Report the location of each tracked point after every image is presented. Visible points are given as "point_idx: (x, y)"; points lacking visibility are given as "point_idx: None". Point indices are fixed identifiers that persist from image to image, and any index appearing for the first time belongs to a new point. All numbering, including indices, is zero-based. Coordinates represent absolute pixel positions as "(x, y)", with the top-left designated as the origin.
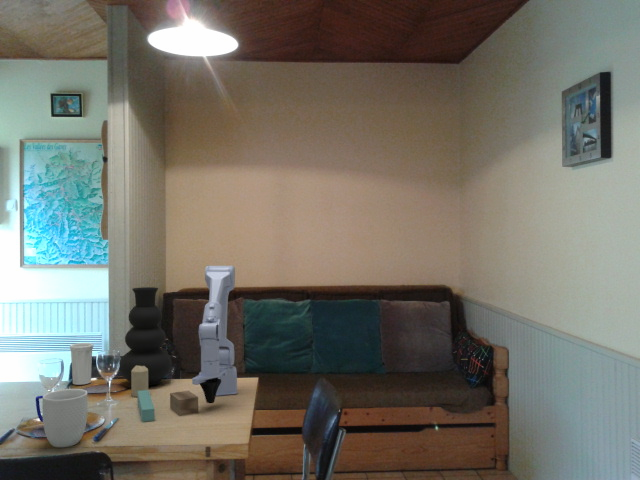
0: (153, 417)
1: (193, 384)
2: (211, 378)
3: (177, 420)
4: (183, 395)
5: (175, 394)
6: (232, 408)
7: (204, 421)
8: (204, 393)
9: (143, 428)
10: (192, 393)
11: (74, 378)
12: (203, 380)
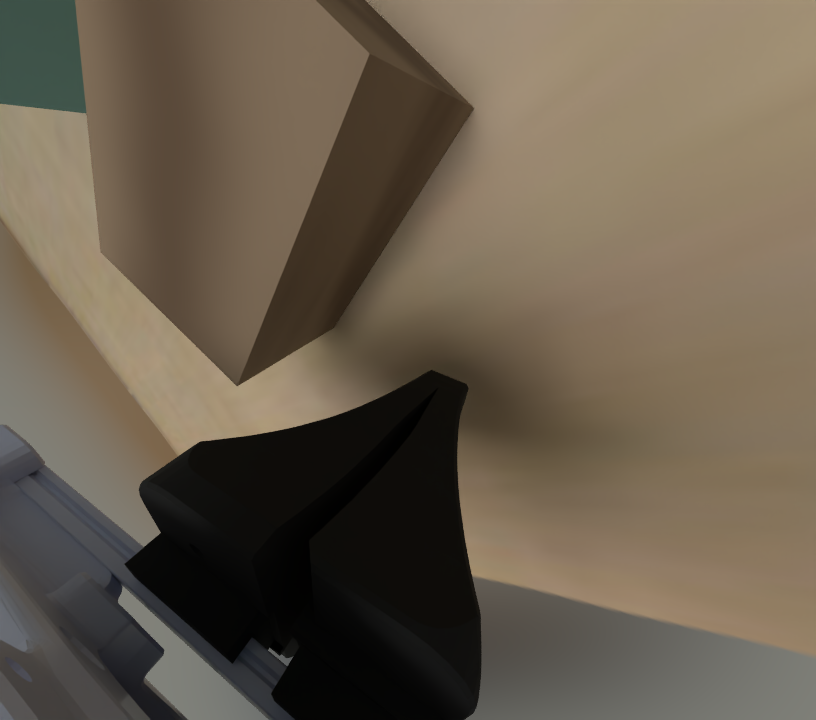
0: (72, 107)
1: (18, 438)
2: (156, 691)
3: None
4: (171, 195)
5: (112, 5)
6: (485, 510)
7: (259, 401)
8: (364, 408)
9: (50, 154)
10: (280, 269)
11: None
12: (108, 574)
